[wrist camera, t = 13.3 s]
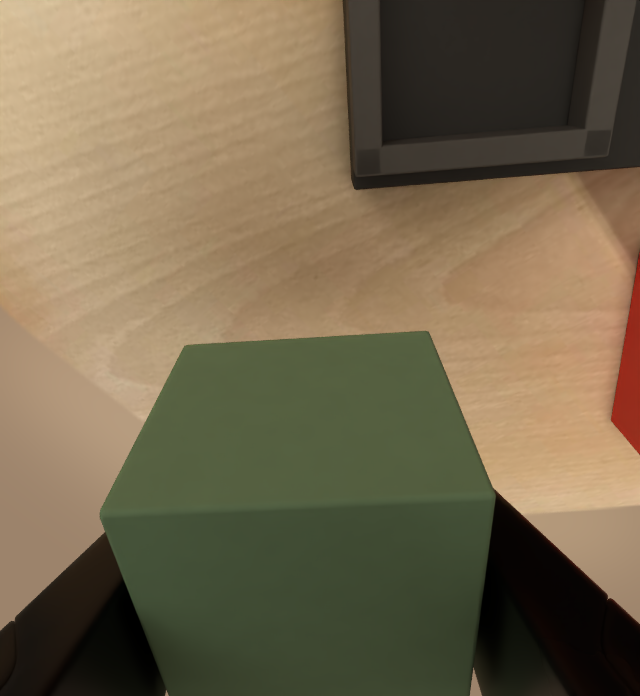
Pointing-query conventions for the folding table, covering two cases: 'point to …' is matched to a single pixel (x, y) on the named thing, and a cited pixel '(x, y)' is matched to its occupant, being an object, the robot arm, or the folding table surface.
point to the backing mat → (490, 88)
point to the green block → (306, 521)
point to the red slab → (630, 375)
